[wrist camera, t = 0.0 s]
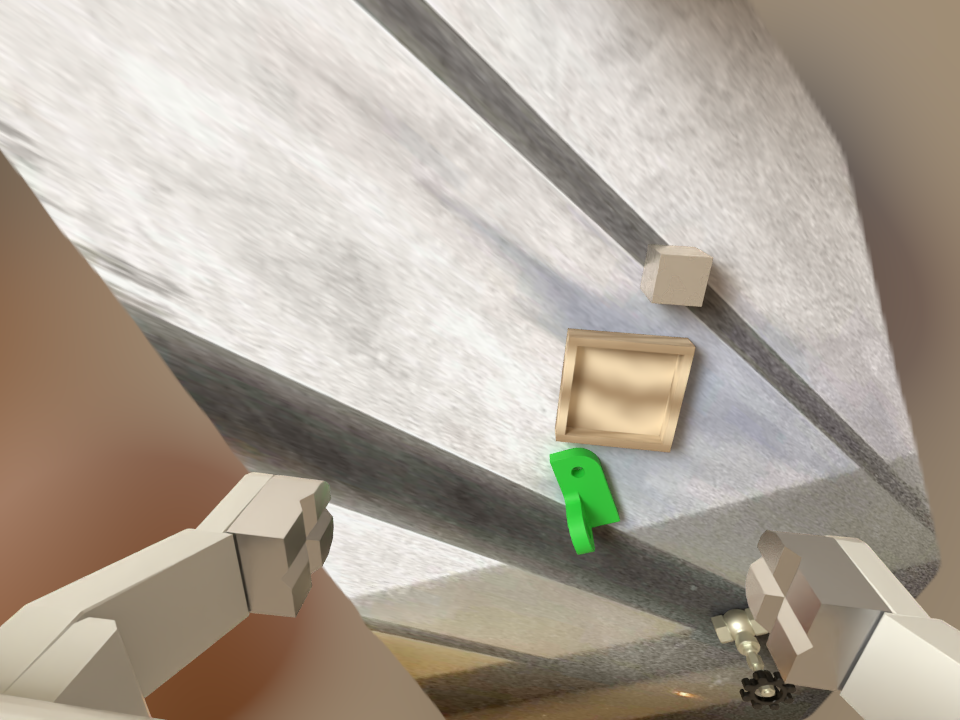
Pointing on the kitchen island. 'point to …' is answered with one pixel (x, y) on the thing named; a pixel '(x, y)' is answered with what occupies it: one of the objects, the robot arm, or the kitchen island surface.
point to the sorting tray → (622, 389)
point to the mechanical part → (584, 495)
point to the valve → (752, 658)
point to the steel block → (675, 275)
